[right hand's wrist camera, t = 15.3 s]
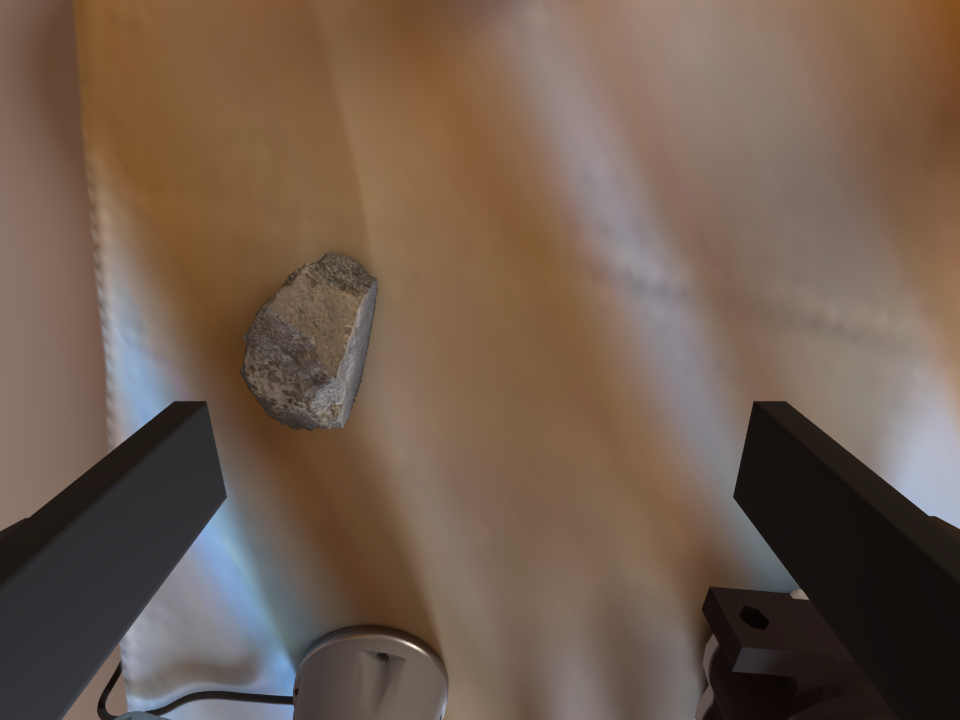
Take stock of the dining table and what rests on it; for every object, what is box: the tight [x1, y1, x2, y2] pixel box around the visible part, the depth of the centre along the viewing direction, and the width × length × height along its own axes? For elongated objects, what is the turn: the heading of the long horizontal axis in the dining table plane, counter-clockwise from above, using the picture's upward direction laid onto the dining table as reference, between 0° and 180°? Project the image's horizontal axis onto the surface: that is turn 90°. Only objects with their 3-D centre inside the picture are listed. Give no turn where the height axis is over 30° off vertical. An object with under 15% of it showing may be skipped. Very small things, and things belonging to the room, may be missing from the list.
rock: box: [240, 252, 378, 431], centre depth 36 cm, size 13×9×6 cm, turn 165°
